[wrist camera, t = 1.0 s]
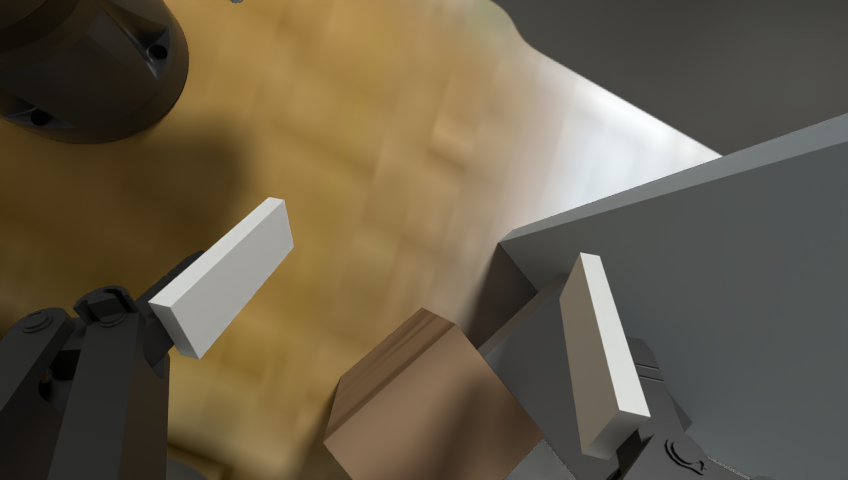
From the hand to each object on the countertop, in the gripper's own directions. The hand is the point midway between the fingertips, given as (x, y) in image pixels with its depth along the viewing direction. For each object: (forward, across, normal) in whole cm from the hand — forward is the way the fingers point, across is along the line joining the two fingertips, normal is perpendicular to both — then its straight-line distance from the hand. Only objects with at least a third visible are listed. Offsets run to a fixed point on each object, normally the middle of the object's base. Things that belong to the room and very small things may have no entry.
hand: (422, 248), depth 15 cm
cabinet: (+4, -1, -18) cm, 19 cm away
